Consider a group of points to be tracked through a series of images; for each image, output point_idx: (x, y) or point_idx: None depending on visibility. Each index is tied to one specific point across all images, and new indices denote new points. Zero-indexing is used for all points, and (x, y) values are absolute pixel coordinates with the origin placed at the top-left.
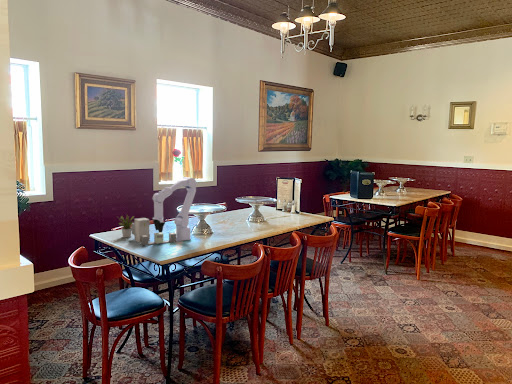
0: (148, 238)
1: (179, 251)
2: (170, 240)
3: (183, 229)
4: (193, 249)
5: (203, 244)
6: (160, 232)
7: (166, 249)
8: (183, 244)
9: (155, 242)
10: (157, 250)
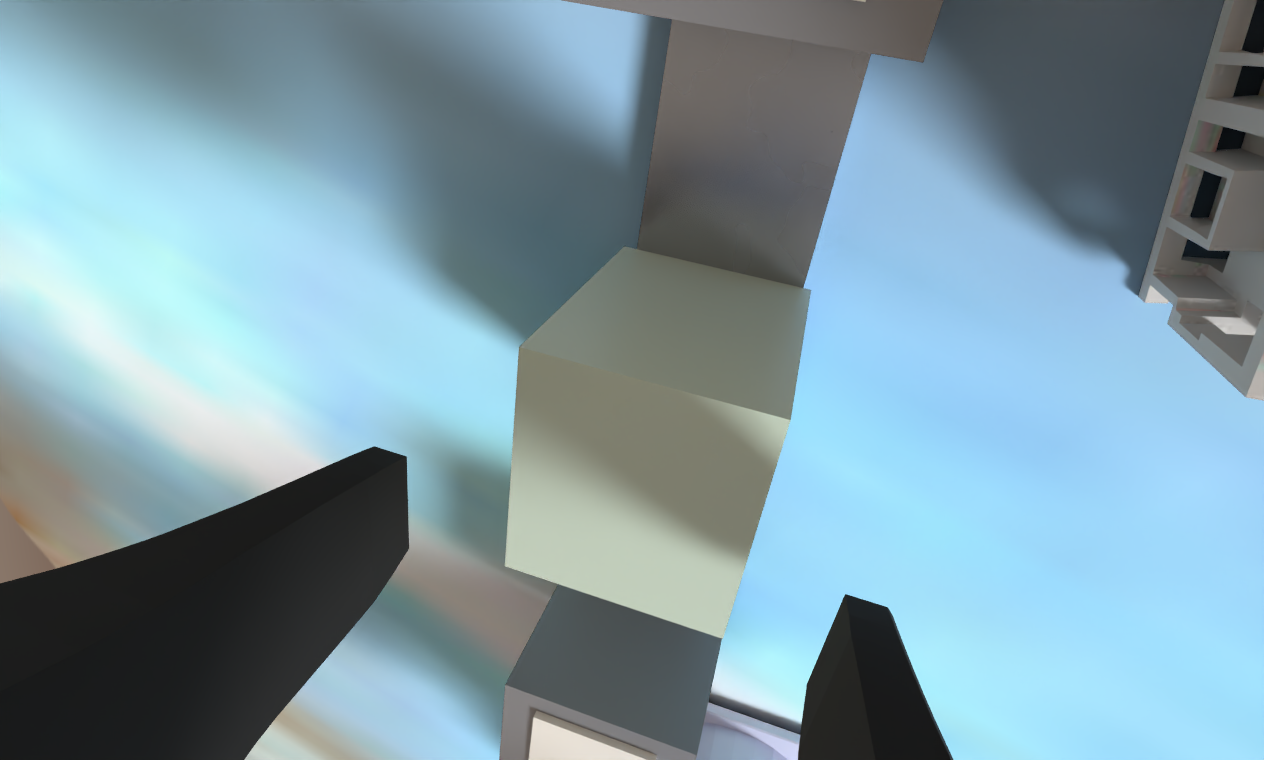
0: (1237, 294)
1: (24, 327)
2: None
3: None
4: (103, 524)
5: (303, 735)
6: (725, 610)
7: (166, 217)
8: (394, 600)
9: (676, 262)
10: (126, 9)
